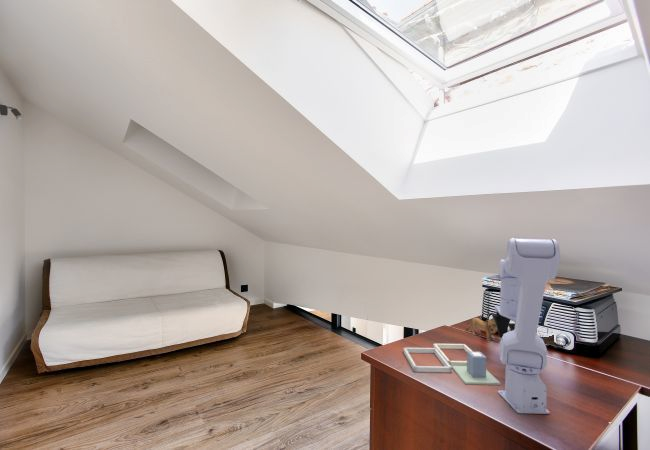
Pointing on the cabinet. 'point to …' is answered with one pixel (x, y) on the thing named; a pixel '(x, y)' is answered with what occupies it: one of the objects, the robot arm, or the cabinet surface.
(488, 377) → the green mat
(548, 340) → the pottery mug
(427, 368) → the grey rectangular frame
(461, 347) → the cream rectangular frame
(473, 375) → the slate block
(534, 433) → the cabinet surface
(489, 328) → the lion figurine
